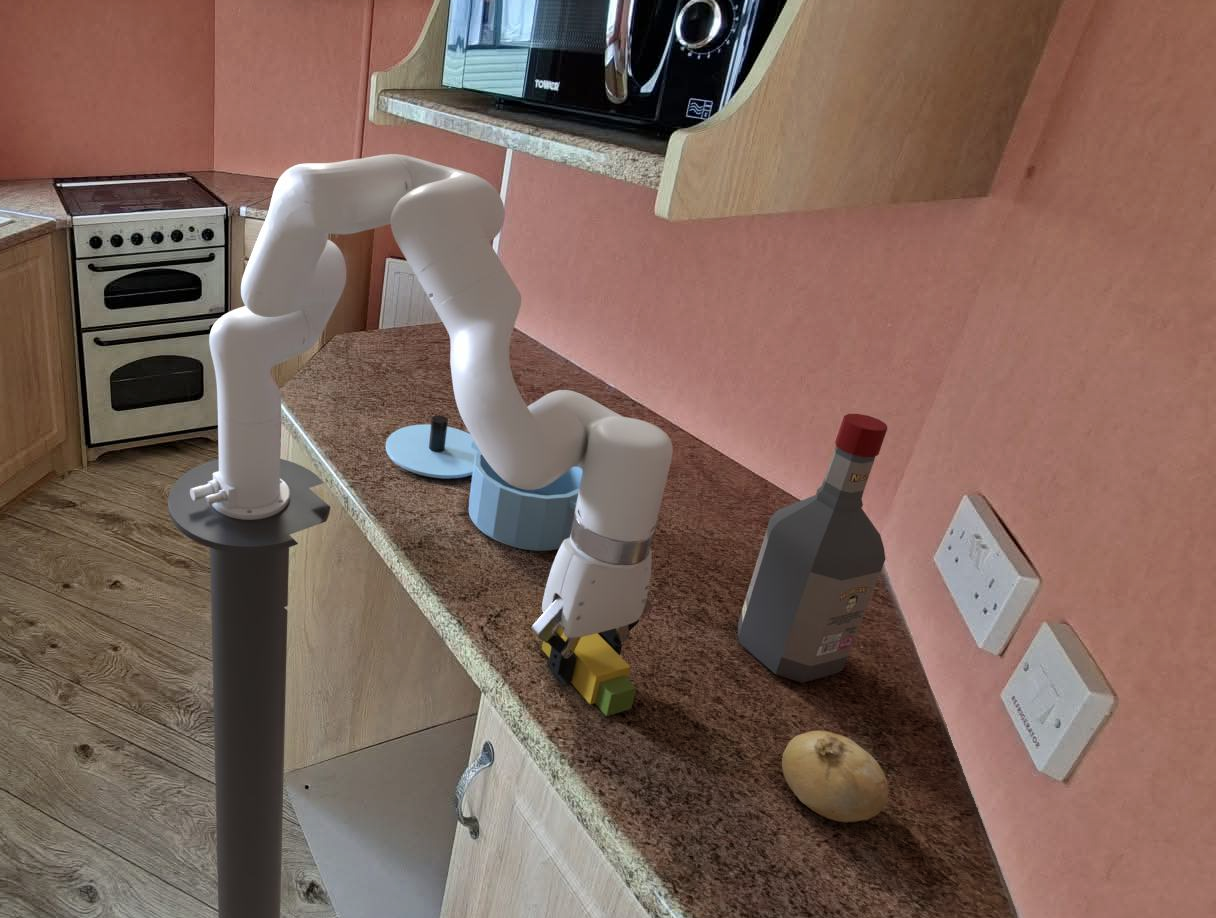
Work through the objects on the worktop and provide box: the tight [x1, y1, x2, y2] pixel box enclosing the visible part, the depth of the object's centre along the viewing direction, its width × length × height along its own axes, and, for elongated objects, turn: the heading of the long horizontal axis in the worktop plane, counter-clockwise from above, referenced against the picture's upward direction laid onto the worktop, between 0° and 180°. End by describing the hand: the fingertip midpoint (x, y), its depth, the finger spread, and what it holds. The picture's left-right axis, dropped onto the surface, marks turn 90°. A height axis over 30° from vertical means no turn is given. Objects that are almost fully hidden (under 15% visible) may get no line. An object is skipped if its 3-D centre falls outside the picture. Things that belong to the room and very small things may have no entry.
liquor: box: [737, 413, 888, 684], centre depth 85 cm, size 9×9×30 cm
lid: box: [385, 414, 478, 479], centre depth 130 cm, size 17×17×7 cm
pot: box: [468, 441, 583, 552], centre depth 114 cm, size 16×21×8 cm
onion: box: [781, 730, 890, 824], centre depth 73 cm, size 8×8×7 cm
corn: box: [541, 631, 637, 717], centre depth 87 cm, size 10×4×4 cm, turn 18°
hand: (581, 668), depth 88 cm, fingers open, 5 cm apart
